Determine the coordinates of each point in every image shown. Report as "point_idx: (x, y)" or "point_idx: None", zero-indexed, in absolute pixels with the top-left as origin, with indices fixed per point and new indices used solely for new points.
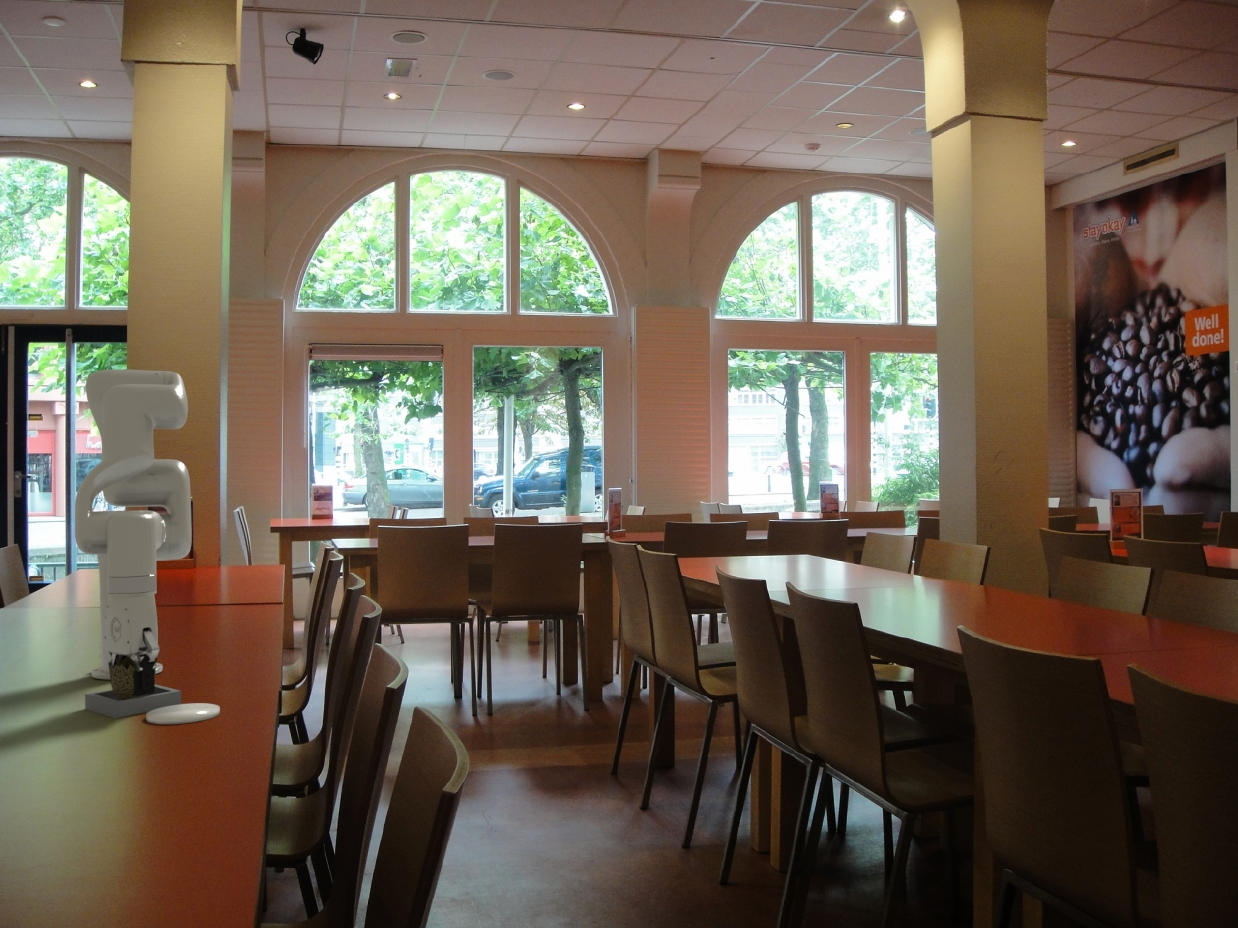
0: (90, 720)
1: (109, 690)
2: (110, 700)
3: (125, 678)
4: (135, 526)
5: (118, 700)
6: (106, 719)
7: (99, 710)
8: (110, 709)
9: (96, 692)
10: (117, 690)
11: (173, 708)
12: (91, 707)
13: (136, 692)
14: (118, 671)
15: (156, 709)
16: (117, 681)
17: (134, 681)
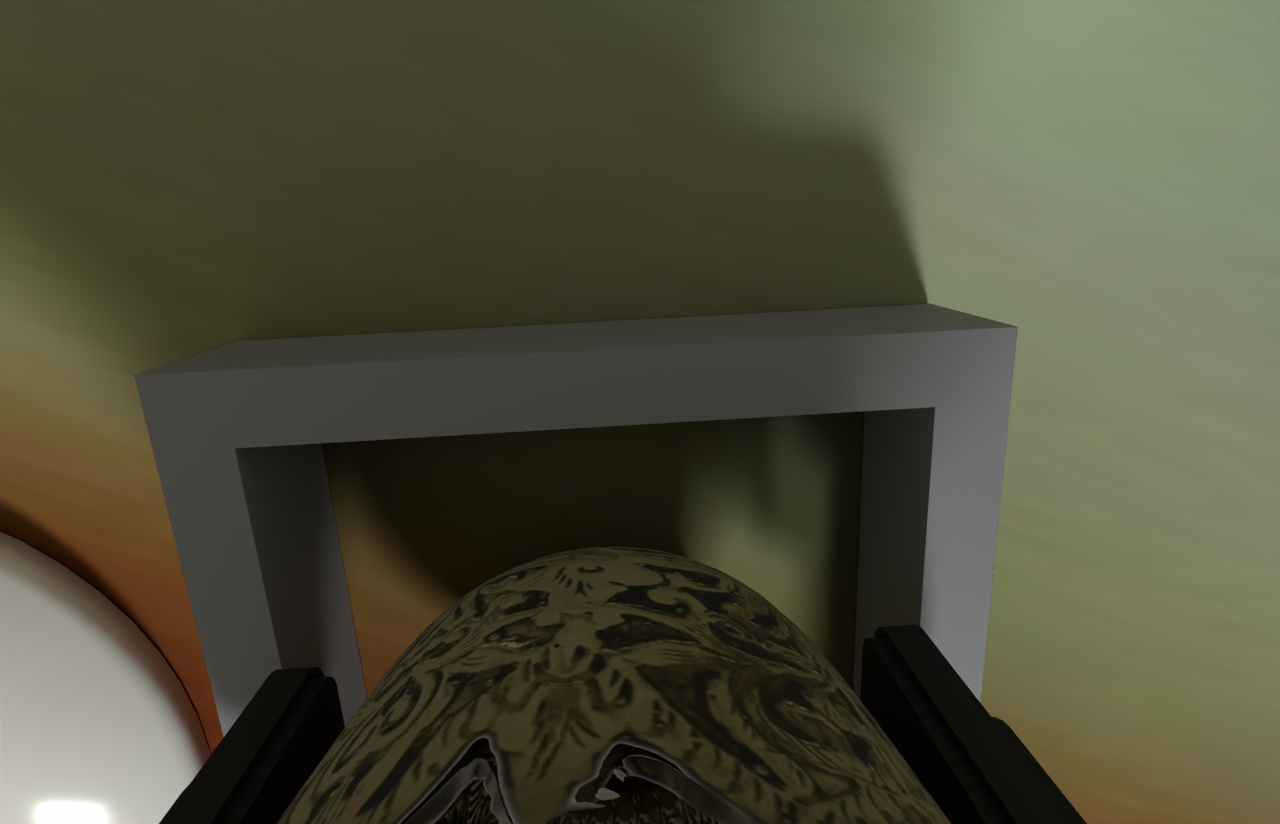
0: (328, 126)
1: (949, 592)
2: (331, 388)
3: (332, 747)
4: None
5: (871, 606)
6: (253, 261)
7: (601, 326)
8: (320, 349)
9: (973, 453)
10: (519, 570)
11: (37, 788)
12: (789, 315)
13: (269, 691)
14: (360, 769)
15: (100, 679)
16: (466, 636)
17: (217, 791)
